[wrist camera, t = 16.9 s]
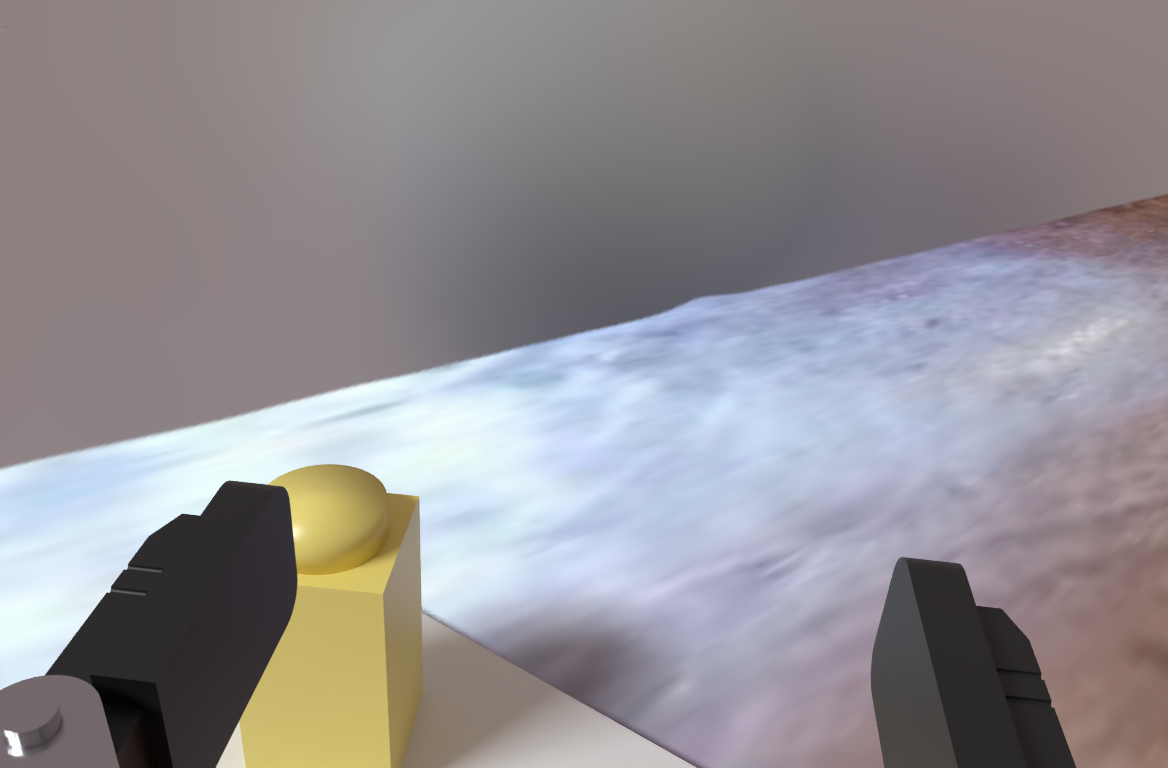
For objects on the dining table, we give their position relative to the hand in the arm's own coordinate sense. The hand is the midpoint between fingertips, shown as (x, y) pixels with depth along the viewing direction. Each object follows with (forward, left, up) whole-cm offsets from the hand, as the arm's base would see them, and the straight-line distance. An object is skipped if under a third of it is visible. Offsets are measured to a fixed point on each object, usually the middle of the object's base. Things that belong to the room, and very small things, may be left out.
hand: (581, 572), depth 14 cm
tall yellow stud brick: (-13, -19, -28) cm, 36 cm away
